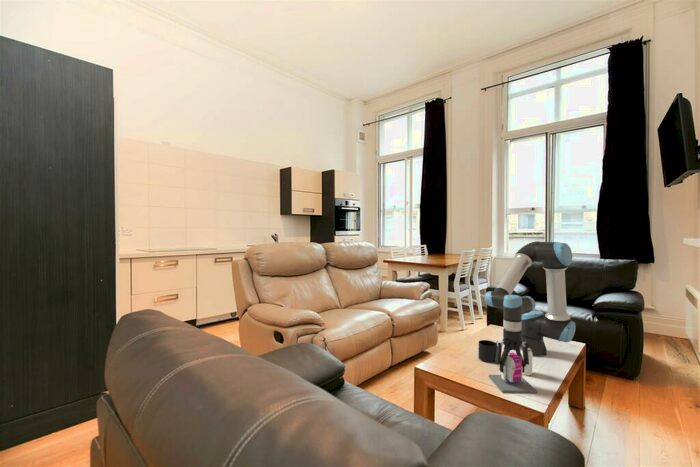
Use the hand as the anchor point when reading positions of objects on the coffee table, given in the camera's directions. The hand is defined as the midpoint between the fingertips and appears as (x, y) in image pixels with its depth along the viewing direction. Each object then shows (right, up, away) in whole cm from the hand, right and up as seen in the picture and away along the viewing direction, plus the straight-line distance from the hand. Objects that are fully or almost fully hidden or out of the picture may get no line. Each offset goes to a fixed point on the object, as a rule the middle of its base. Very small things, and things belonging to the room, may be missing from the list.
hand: (511, 378), depth 149 cm
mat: (0, -3, 0) cm, 3 cm away
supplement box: (0, -1, 0) cm, 1 cm away
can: (+12, -3, +12) cm, 17 cm away
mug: (+2, -2, +27) cm, 27 cm away
